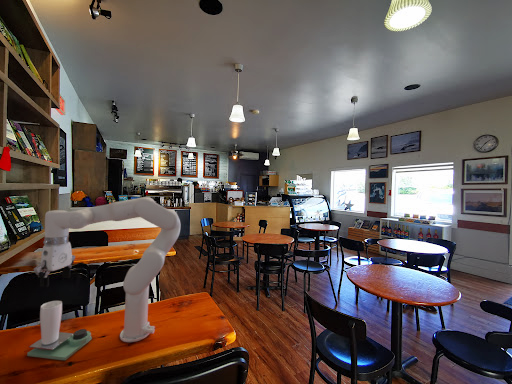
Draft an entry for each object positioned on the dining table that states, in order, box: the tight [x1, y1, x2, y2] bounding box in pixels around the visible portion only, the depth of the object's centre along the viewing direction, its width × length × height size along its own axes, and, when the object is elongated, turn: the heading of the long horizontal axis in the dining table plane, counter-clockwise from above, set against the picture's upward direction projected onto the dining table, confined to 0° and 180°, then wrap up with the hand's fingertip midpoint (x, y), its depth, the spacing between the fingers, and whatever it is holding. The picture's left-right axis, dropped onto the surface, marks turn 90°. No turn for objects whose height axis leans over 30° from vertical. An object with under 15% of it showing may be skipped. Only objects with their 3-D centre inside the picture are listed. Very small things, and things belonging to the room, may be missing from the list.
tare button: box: [73, 328, 88, 340], centre depth 100 cm, size 4×4×2 cm
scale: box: [26, 330, 93, 361], centre depth 97 cm, size 17×14×3 cm
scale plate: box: [28, 331, 74, 350], centre depth 96 cm, size 10×10×1 cm
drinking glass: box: [39, 300, 63, 345], centre depth 95 cm, size 7×7×15 cm
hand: (55, 281), depth 96 cm, fingers open, 9 cm apart
